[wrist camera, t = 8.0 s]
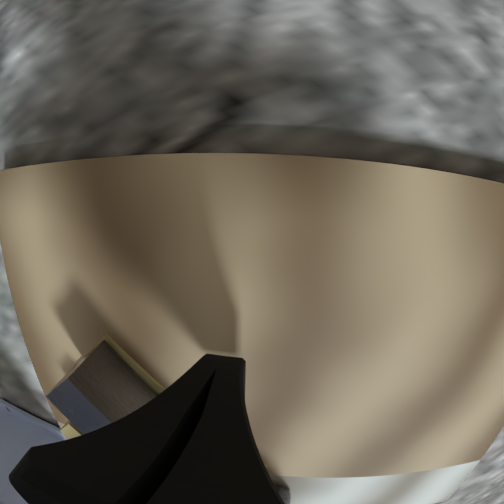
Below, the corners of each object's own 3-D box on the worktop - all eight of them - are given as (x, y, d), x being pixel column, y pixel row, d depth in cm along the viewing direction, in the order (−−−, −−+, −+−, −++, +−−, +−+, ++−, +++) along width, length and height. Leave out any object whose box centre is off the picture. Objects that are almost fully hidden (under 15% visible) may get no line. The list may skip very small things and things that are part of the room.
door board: (86, 456, 18) (65, 488, 14) (7, 168, 12) (-48, 179, 8) (444, 490, 15) (453, 528, 11) (569, 200, 9) (621, 218, 5)
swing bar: (301, 499, 14) (297, 554, 10) (257, 510, 15) (248, 559, 11) (109, 335, 12) (56, 391, 8) (75, 363, 13) (29, 412, 9)
